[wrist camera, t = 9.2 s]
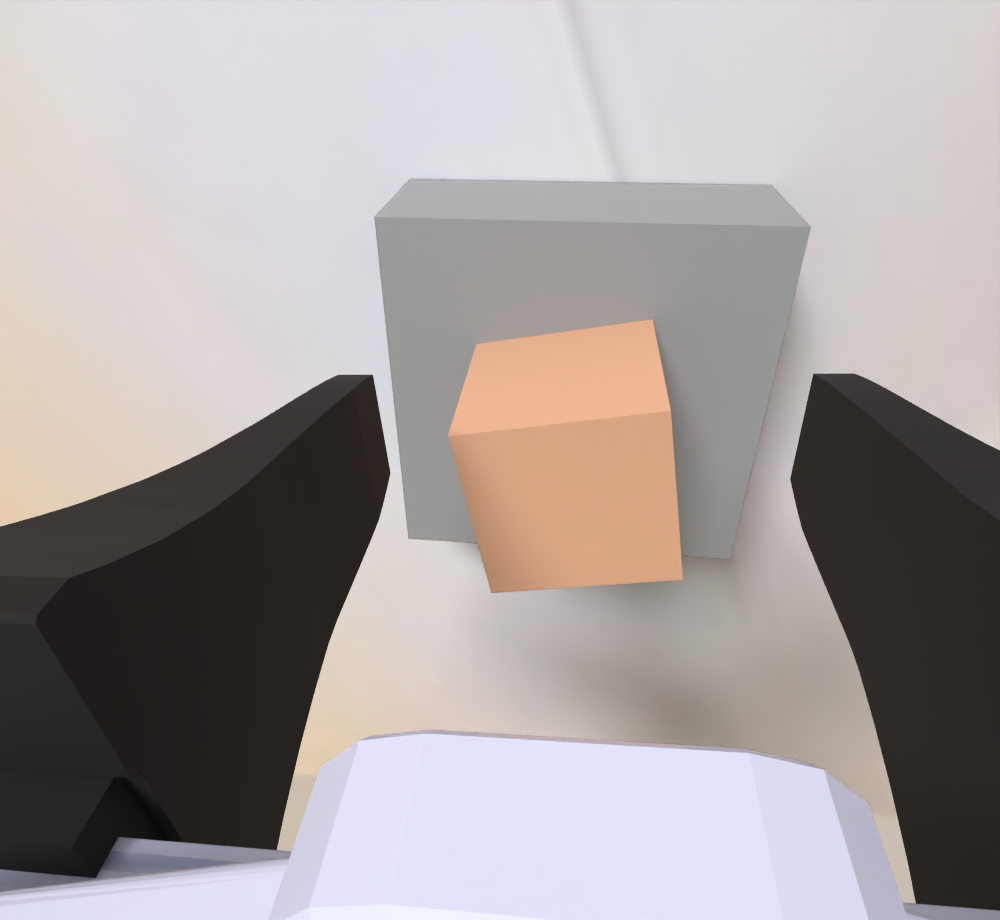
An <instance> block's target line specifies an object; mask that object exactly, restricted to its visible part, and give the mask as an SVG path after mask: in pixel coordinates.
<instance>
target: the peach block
mask: <svg viewBox="0 0 1000 920" xmlns="http://www.w3.org/2000/svg"><path fill="white" fill-rule="evenodd" d="M448 439H449V443H450V446H451V450H452V454H453V457H454V461H455V464H456V468H457V471H458V475H459V479H460V482H461V486H462V489H463V493H464V497H465V500H466V504H467V507H468V511H469V514H470V518H471V522H472V525H473V529H474V532H475V536H476V540H477V543H478V547H479V550H480V554H481V557H482V561H483V565H484V568H485V572H486V575H487V579H488V583H489V586H490V590H491V593H499V592H514V591H528V590H543V589H558V588H572V587H587V586H601V585H616V584H630V583H645V582H659V581H674V580H683V574H682V560H681V546H680V532H679V518H678V504H677V490H676V476H675V461H674V447H673V433H672V419H671V409H670V404H669V399H668V394H667V389H666V384H665V379H664V374H663V369H662V364H661V359H660V354H659V349H658V344H657V339H656V334H655V329H654V324H653V319H652V320H645V321H638V322H631V323H623V324H616V325H609V326H602V327H595V328H588V329H581V330H574V331H567V332H560V333H552V334H545V335H538V336H531V337H524V338H517V339H510V340H503V341H496V342H489V343H481V344H476V347H475V350H474V353H473V357H472V360H471V363H470V366H469V369H468V373H467V376H466V379H465V382H464V386H463V389H462V392H461V395H460V398H459V402H458V405H457V408H456V411H455V414H454V418H453V421H452V424H451V427H450V431H449V434H448Z"/></svg>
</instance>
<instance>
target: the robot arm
mask: <svg viewBox="0 0 1000 920" xmlns="http://www.w3.org/2000/svg"><path fill="white" fill-rule="evenodd" d="M389 477H390V468H389V463H388V457H387V452H386V446H385V440H384V435H383V429H382V424H381V418H380V412H379V407H378V401H377V396H376V390H375V384H374V379H373V375H337V376H335V377H333V378H330V379H329V380H327V381H325V382H323V383H321V384H319V385H318V386H316V387H314V388H312V389H311V390H309V391H307V392H306V393H304V394H302V395H301V396H299V397H298V398H296V399H294V400H293V401H291V402H289V403H288V404H286V405H285V406H283V407H281V408H280V409H278V410H276V411H275V412H273V413H272V414H270V415H268V416H267V417H265V418H263V419H262V420H260V421H258V422H257V423H255V424H253V425H252V426H250V427H248V428H246V429H244V430H243V431H241V432H239V433H237V434H235V435H234V436H232V437H230V438H228V439H227V440H225V441H223V442H221V443H219V444H218V445H216V446H214V447H212V448H210V449H209V450H207V451H205V452H203V453H201V454H199V455H197V456H195V457H193V458H191V459H189V460H187V461H185V462H182V463H180V464H178V465H176V466H174V467H171V468H169V469H167V470H165V471H162V472H160V473H158V474H156V475H153V476H151V477H149V478H146V479H144V480H142V481H139V482H136V483H134V484H131V485H128V486H126V487H123V488H120V489H117V490H115V491H112V492H109V493H107V494H104V495H101V496H98V497H96V498H93V499H90V500H87V501H85V502H82V503H79V504H76V505H73V506H70V507H67V508H63V509H60V510H57V511H54V512H50V513H47V514H44V515H41V516H37V517H34V518H30V519H26V520H23V521H19V522H16V523H12V524H8V525H5V526H1V527H0V920H1000V450H998V449H996V448H994V447H992V446H989V445H987V444H985V443H984V442H982V441H980V440H978V439H976V438H974V437H972V436H970V435H968V434H966V433H964V432H963V431H961V430H959V429H957V428H955V427H953V426H952V425H950V424H948V423H946V422H944V421H943V420H941V419H939V418H937V417H935V416H934V415H932V414H930V413H928V412H926V411H925V410H923V409H921V408H919V407H918V406H916V405H914V404H912V403H911V402H909V401H907V400H905V399H904V398H902V397H900V396H898V395H896V394H895V393H893V392H891V391H889V390H887V389H886V388H884V387H882V386H880V385H878V384H876V383H874V382H872V381H870V380H868V379H866V378H864V377H861V376H859V375H856V374H813V378H812V383H811V387H810V392H809V396H808V401H807V406H806V410H805V415H804V419H803V424H802V428H801V433H800V437H799V442H798V447H797V451H796V456H795V460H794V465H793V469H792V474H791V479H790V480H791V484H792V489H793V493H794V498H795V502H796V507H797V511H798V514H799V518H800V522H801V526H802V530H803V532H804V535H805V537H806V540H807V542H808V545H809V547H810V550H811V552H812V555H813V557H814V560H815V562H816V564H817V567H818V569H819V572H820V574H821V576H822V579H823V581H824V584H825V586H826V588H827V591H828V593H829V595H830V598H831V600H832V602H833V605H834V607H835V610H836V612H837V614H838V617H839V619H840V621H841V624H842V626H843V629H844V631H845V633H846V636H847V638H848V640H849V643H850V646H851V649H852V651H853V654H854V657H855V660H856V662H857V665H858V668H859V671H860V675H861V678H862V682H863V685H864V689H865V692H866V696H867V699H868V703H869V706H870V710H871V713H872V717H873V720H874V724H875V728H876V732H877V736H878V739H879V743H880V747H881V751H882V755H883V759H884V763H885V767H886V771H887V774H888V778H889V782H890V786H891V790H892V795H893V799H894V804H895V808H896V812H897V817H898V821H899V826H900V830H901V834H902V839H903V843H904V848H905V852H906V856H907V860H908V865H909V870H910V875H911V880H912V886H913V891H914V896H915V901H916V904H914V903H902V900H901V897H900V894H899V892H898V888H897V885H896V883H895V880H894V877H893V874H892V871H891V868H890V865H889V862H888V859H887V856H886V853H885V850H884V848H883V845H882V842H881V839H880V836H879V833H878V830H877V827H876V824H875V821H874V818H873V815H872V812H871V810H870V807H869V804H868V803H867V802H865V801H864V800H863V799H861V798H860V797H859V796H857V795H856V794H855V793H854V792H852V791H851V790H850V789H848V788H847V787H846V786H844V785H843V784H842V783H840V782H839V781H838V780H836V779H835V778H834V777H833V776H831V775H830V774H829V773H827V772H826V771H825V770H823V769H821V768H819V767H817V766H815V765H813V764H810V763H807V762H803V761H798V760H794V759H789V758H785V757H780V756H776V755H771V754H767V753H762V752H758V751H753V750H749V749H744V748H728V747H711V746H695V745H678V744H661V743H645V742H628V741H611V740H595V739H578V738H561V737H545V736H528V735H511V734H495V733H478V732H462V731H445V730H421V731H412V732H403V733H394V734H385V735H376V736H370V737H368V738H365V739H362V740H360V741H358V742H357V743H355V744H354V745H352V746H351V747H349V748H348V749H346V750H345V751H343V752H342V753H340V754H339V755H337V756H336V757H335V758H333V759H332V760H330V761H329V762H327V763H326V764H324V765H323V766H321V768H320V771H319V774H318V777H317V779H316V782H315V785H314V788H313V791H312V794H311V797H310V800H309V803H308V806H307V809H306V811H305V814H304V817H303V820H302V823H301V826H300V829H299V832H298V835H297V838H296V840H295V843H294V846H293V849H292V851H279V850H277V845H278V841H279V836H280V830H281V826H282V822H283V817H284V812H285V808H286V804H287V800H288V795H289V791H290V787H291V782H292V778H293V774H294V770H295V765H296V761H297V757H298V753H299V748H300V745H301V741H302V737H303V733H304V729H305V726H306V722H307V718H308V714H309V710H310V707H311V703H312V699H313V695H314V692H315V688H316V685H317V681H318V678H319V674H320V671H321V667H322V664H323V661H324V657H325V654H326V650H327V647H328V644H329V641H330V638H331V635H332V632H333V630H334V627H335V624H336V621H337V619H338V617H339V614H340V612H341V609H342V607H343V605H344V602H345V600H346V598H347V595H348V593H349V590H350V588H351V586H352V583H353V581H354V579H355V576H356V574H357V572H358V569H359V567H360V564H361V562H362V560H363V557H364V555H365V553H366V550H367V548H368V545H369V543H370V540H371V538H372V536H373V533H374V531H375V528H376V526H377V523H378V520H379V517H380V513H381V510H382V506H383V502H384V498H385V494H386V490H387V485H388V481H389Z"/></svg>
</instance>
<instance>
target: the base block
mask: <svg viewBox="0 0 1000 920" xmlns="http://www.w3.org/2000/svg"><path fill="white" fill-rule="evenodd" d="M374 218H375V227H376V237H377V246H378V256H379V265H380V275H381V284H382V294H383V303H384V312H385V322H386V331H387V341H388V350H389V360H390V369H391V379H392V388H393V397H394V407H395V416H396V426H397V435H398V445H399V454H400V464H401V473H402V482H403V492H404V501H405V511H406V520H407V530H408V539H421V540H437V541H452V542H468V543H477V540H476V536H475V532H474V529H473V525H472V522H471V518H470V514H469V511H468V507H467V504H466V500H465V497H464V493H463V489H462V486H461V482H460V479H459V475H458V471H457V468H456V464H455V461H454V457H453V454H452V450H451V446H450V443H449V439H448V434H449V431H450V427H451V424H452V421H453V418H454V414H455V411H456V408H457V405H458V402H459V398H460V395H461V392H462V389H463V386H464V382H465V379H466V376H467V373H468V369H469V366H470V363H471V360H472V357H473V353H474V350H475V347H476V344H481V343H489V342H496V341H503V340H510V339H517V338H524V337H531V336H538V335H545V334H552V333H560V332H567V331H574V330H581V329H588V328H595V327H602V326H609V325H616V324H623V323H631V322H638V321H645V320H652V319H653V324H654V329H655V334H656V339H657V344H658V349H659V354H660V359H661V364H662V369H663V374H664V379H665V384H666V389H667V394H668V399H669V404H670V409H671V419H672V433H673V447H674V461H675V476H676V490H677V504H678V518H679V532H680V546H681V556H686V557H702V558H717V559H730V557H731V553H732V549H733V545H734V541H735V537H736V533H737V528H738V524H739V520H740V516H741V512H742V508H743V504H744V500H745V496H746V491H747V487H748V483H749V479H750V475H751V471H752V467H753V463H754V459H755V454H756V450H757V446H758V442H759V438H760V434H761V430H762V426H763V422H764V417H765V413H766V409H767V405H768V401H769V397H770V393H771V389H772V384H773V380H774V376H775V372H776V368H777V364H778V360H779V356H780V352H781V347H782V343H783V339H784V335H785V331H786V327H787V323H788V319H789V315H790V310H791V306H792V302H793V298H794V294H795V290H796V286H797V282H798V278H799V273H800V269H801V265H802V261H803V257H804V253H805V249H806V245H807V240H808V236H809V232H810V228H811V226H810V225H809V224H808V223H807V222H806V221H805V220H804V219H803V218H802V217H801V216H800V215H799V214H798V213H797V212H796V210H795V209H794V208H793V207H792V206H791V205H790V204H789V203H788V202H787V201H786V200H785V199H784V198H783V197H782V196H781V195H780V194H779V192H778V191H777V190H776V189H775V188H774V187H773V186H772V185H736V184H678V183H620V182H561V181H503V180H445V179H409V180H408V181H407V183H406V184H405V185H404V186H403V187H402V188H401V189H400V190H399V191H398V192H397V193H396V194H395V195H394V196H393V198H392V199H391V200H390V201H389V202H388V203H387V204H386V205H385V206H384V207H383V208H382V209H381V210H380V212H379V213H378V214H377V215H376V216H375V217H374Z"/></svg>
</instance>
